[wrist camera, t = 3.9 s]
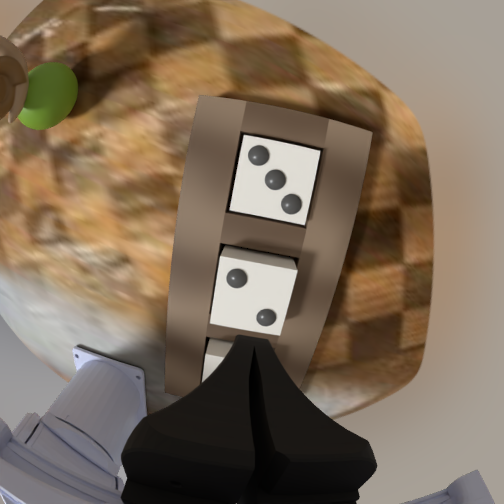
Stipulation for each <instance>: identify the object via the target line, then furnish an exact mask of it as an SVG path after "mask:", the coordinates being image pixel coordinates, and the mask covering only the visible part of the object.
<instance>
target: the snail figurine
mask: <svg viewBox="0 0 504 504" xmlns="http://www.w3.org/2000/svg"><path fill="white" fill-rule="evenodd" d="M77 95H78V82H77V79H76V76H75V74H74V73H73V71H72V70H71V69H70V68H69V67H68V66H66V65H64V64H61V63H57V62H49V63H45V64H42V65H39V66H37V67H36V68H34V69H33V70H31V71H30V72H29V73H28V70H27V62H26V59H25V57H24V55H23V54H22V52H21V51H20V50H19V49H18V48H17V47H16V46H15V45H14V44H13V43H12V42H11V41H9V40H8V39H6V38H4V37H2V36H0V120H1V119H2V118H3V117H4V116H5V115H6V114H7V113H8V112H9V117H8V122H9V123H12V122H13V121H14V120H15V119H16V118H17V117H18V118H19V120H20V121H21V122H22V123H23V124H24V125H25V126H27V127H29V128H31V129H36V130H43V129H48V128H51V127H53V126H55V125H57V124H58V123H60V122H61V121H62V120H64V119H65V118H66V117H67V115H68V114H69V113H70V112H71V110H72V108H73V107H74V104H75V102H76V99H77Z"/></svg>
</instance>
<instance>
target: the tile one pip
mask: <svg viewBox="0 0 504 504" xmlns="http://www.w3.org/2000/svg"><path fill="white" fill-rule="evenodd" d="M233 343H234V342H233V341H228V340H223V339H217V338H212V337H210V340H209V344H208V347H207V351H206V355H205V362H204V370H203V378H202V382H203V381H204V380H205V379H206V378H207V377H208V376H209V375H210V374H211V373H212V372H213V371H214V370H215V369H216V368H217V366H218V365H219V364H220V363H221V362H222V360H223V359H224V358H225V356H226V355H227V353H228V352H229V350H230V348H231V347H232V345H233Z"/></svg>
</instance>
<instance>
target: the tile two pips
mask: <svg viewBox="0 0 504 504" xmlns="http://www.w3.org/2000/svg"><path fill="white" fill-rule="evenodd" d="M297 271H298V270H297V268H296V265H295V263H294V260H293V258H291V257H286V256H281V255H275V254H270V253H265V252H260V251H254V250H249V249H244V248H239V247H233V246H228V245H225V247H224V249H223V251H222V253H221V255H220V261H219V267H218V273H217V280H216V286H215V292H214V299H213V306H212V312H211V319H210V323H211V324H216V325H221V326H226V327H231V328H237V329H243V330H248V331H254V332H260V333H266V334H273V335H279V336H280V334H281V330H282V327H283V323H284V320H285V316H286V313H287V309H288V305H289V301H290V298H291V294H292V290H293V286H294V283H295V279H296V275H297Z"/></svg>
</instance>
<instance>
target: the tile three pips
mask: <svg viewBox="0 0 504 504" xmlns="http://www.w3.org/2000/svg"><path fill="white" fill-rule="evenodd" d="M319 156H320V151H318V150H314V149H310V148H306V147H301V146H297V145H293V144H288V143H284V142H279V141H274V140H269V139H264V138H258V137H253V136H247V135H244V137H243V142H242V147H241V152H240V157H239V162H238V168H237V173H236V178H235V183H234V189H233V194H232V200H231V205H230V210H231V211H236V212H241V213H247V214H252V215H257V216H262V217H267V218H272V219H277V220H282V221H287V222H292V223H297V224H302V225H305V222H306V217H307V213H308V208H309V204H310V199H311V195H312V190H313V185H314V180H315V176H316V171H317V166H318V161H319Z"/></svg>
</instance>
